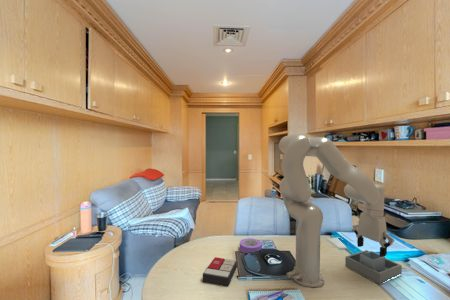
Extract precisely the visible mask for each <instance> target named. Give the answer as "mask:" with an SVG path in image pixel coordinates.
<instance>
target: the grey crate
mask: <svg viewBox="0 0 450 300" xmlns="http://www.w3.org/2000/svg"><path fill="white" fill-rule="evenodd" d="M366 252H369V250H367V249H365V250H362V251H359V252H356V253H353V254H349V255H346V256H345V259H344V260H345V263H344V265H345V267H346V268H347V269H349V270H351V271H353V272H355V273H356V274H359V275H360V276H362V277H364V278H366V279H367V280H370V281H372V282H373V283H375V284H376V285H378V286H381V285H382V284H381V283H383V282H385V281H387V280H388V279H391V278H392V277H395V276H397V275H399V274H402V273H403V271H402V269H403V266H402V264H400V263H398V262H395V261H393V260H391V259H388V258H386V257H385V270H384V271H381V272H377V271H375V270H373V269H371V268H369V267H367V266H365V265H363V264H361V263H360V254H363V253H366ZM380 284H381V285H380ZM383 284H384V283H383Z"/></svg>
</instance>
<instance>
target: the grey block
mask: <svg viewBox="0 0 450 300" xmlns="http://www.w3.org/2000/svg"><path fill="white" fill-rule="evenodd" d="M368 251H369V250H368ZM385 258H386V256H384V257H380V253H377V252H375V251H374V250H370V251H369V252H366V253H363V254H360V263H361V264H363V265H365V266H367V267H369V268H371V269H373V270H375V271H377V272H381V271H384V270H385Z"/></svg>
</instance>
